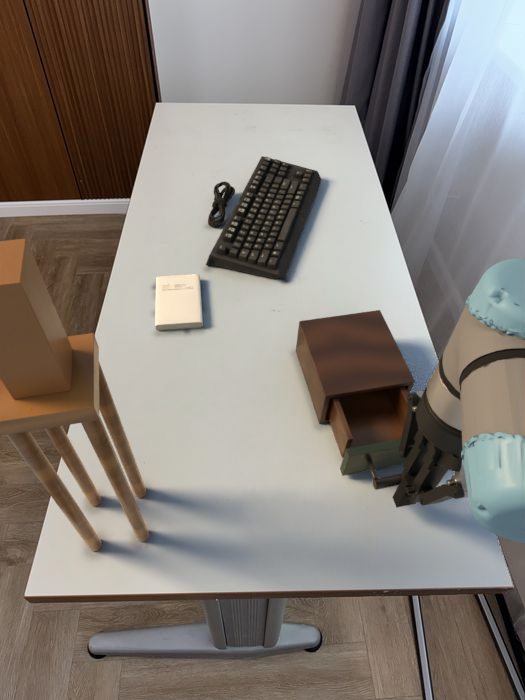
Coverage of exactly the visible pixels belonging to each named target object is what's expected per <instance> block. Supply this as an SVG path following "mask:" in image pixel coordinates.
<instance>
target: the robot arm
mask: <svg viewBox="0 0 525 700" xmlns="http://www.w3.org/2000/svg"><path fill="white" fill-rule="evenodd" d="M464 305H465V306H464V308H463V310H462V313H461V315H460V316H459V319H458V321H457V323H456V325H455V327H454V328H453V331H452V333H451V336H450V338H449V340H448V342H447V344H446V346H445V348H444V351H443V353H442V354H441V357H440V359H439V361H438V362H437V364H436V366H435V368H434V370H433V372H432V373H431V376H430V378H429V380H428V381H427V382H426V383H427V384H426V386H425V388H424V390H419V391H415V392H414V391H413V392H410V393H408V395H407V414H406V419H405V423H404V428H403V432H402V437H401V442H400V446H399V455H400V457H401V458H404V459H405V462H404V464H402V472H401V473H400V474H401V476H400V479H401V482H400V484H399V485H398V486H397V487H396V490H395V492H394V493H393V495H392V500H393V502H394V505H395V507H396V508H401V507H407V506H411V505H416V504H417V503H419V504H420V506H422V507H424V506H430V505H435V504H440V503H443V502H446V501H449V500H450V499H451V500H452V499H455V500H458V499H463V498H468V505H469V509H470V512H471V514H472V516H473V518H474V519H475V520H476V522H477V524H478V525H480V526H481V527H482V528H483V529H485V530H486V531H488V532H489V533H491V534H493V535H495V536H497V537H499V538H502V539H505V540H508V541H512V542H516V543H521V544H525V258H510V259H504V260H502V261H498V262H497V263H495V264H493V265H491V266H490V267H489V268H487V269H486V271H485V272H484V273H483V274H482V276H481V278H480V279H479V281H478V283H477V284H476V286H475V287H474V289H473V291H472V293H471V294H470V295H468V297H467V298H466V300H465V303H464ZM410 445H414V446H410ZM448 471H451V472H454V475H452V476H451V479H446V483H443V484H440V483H441V481H442V480H443V479H444V477H445V475H446V474H447V472H448ZM439 484H440V485H439Z"/></svg>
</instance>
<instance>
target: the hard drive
mask: <svg viewBox="0 0 525 700" xmlns="http://www.w3.org/2000/svg"><path fill="white" fill-rule="evenodd" d="M154 304H155V305H154V306H155V307H154V308H155V309H154V310H155V311H154V312H155V313H154V314H155V315H154V327H155V330H156V331H159V332H160V331H174V330H175V331H176V330H188V329H199V328H203V327H204V319H203V317H204V316H203V306H202V305H203V304H202V287H201V274H199V273H192V274H191V273H190V274H175V275H159V276H156V277H155V303H154Z"/></svg>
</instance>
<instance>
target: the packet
mask: <svg viewBox="0 0 525 700" xmlns="http://www.w3.org/2000/svg"><path fill="white" fill-rule="evenodd" d="M0 379H1V381H2V382H3V384H4V385H5V387H6V389H7V390H8V392H9V393H10V395H11V396H12V398H13V399H20V398H26V397H33V396H39V395H46V394H53V393H59V392H66V391H71V380H72V347H71V344H70V342H69V340H68V335H67V333H66V330H65V328H64V326H63V323H62V321H61V319H60V316H59V313H58V312H57V309H56V307H55V304H54V302H53V299H52V297H51V295H50V292H49V289H48V287H47V285H46V282H45V280H44V278H43V276H42V273H41V270H40V269H39V266H38V263H37V261H36V259H35V257H34V254H33V252H32V249H31V246H30V244H29V242H28V240H27V238H18V239H8V240H0Z"/></svg>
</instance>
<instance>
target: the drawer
mask: <svg viewBox="0 0 525 700" xmlns="http://www.w3.org/2000/svg"><path fill="white" fill-rule="evenodd" d="M407 395H408V392H407V390H406V388H405V386H401V387H395V388H389V389H383V390H377V391H371V392H365V393H359V394H353V395H347V396H340V397H334V398H330V400H329V405H328V409H327V415H328V418H329V421H330V422H329V424H330V426H331V430H332V432H333V436H334V438H335V442H336V444H337V447H338V450H339V452H340V453H339V454H340V456H341V458H342V461H341V464H340V467H339V470H340V473H341V476H342V477H344V476H349V475H355V474H359V473H363V472H365V473H366V472H369V471H370V474H371V477H372V486H373V489H374V490H375V491H378V490H383V489H388V488H393V487H398V486H399V484H400V482H401V479H400V476H401V474H402V473H397V474H391V475H387V476H381V477H379V474H378V472H377V470H381V469H385V468H390V467H395V466H401V465H402V466H403V464H404V462H405V459H404V458H401V457H400V455H399V446H400V442H401V437H402V432H403V428H404V423H405V419H406V414H407ZM410 446H414V445H410Z"/></svg>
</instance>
